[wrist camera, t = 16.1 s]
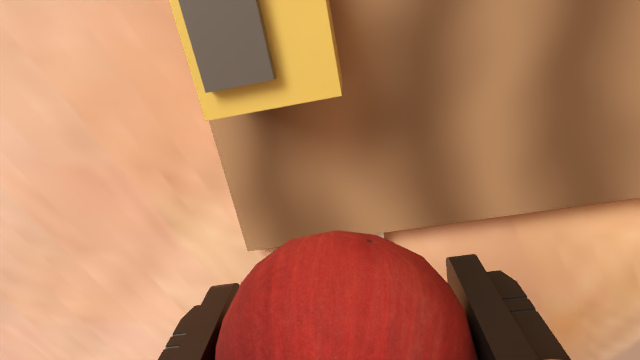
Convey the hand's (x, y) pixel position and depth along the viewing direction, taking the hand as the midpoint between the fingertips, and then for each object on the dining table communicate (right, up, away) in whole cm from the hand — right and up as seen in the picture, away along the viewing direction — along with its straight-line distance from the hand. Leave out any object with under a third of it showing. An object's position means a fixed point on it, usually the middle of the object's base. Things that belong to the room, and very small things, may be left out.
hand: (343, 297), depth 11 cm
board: (+5, +7, +8) cm, 12 cm away
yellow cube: (-3, +10, +6) cm, 12 cm away
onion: (0, +1, +2) cm, 2 cm away
